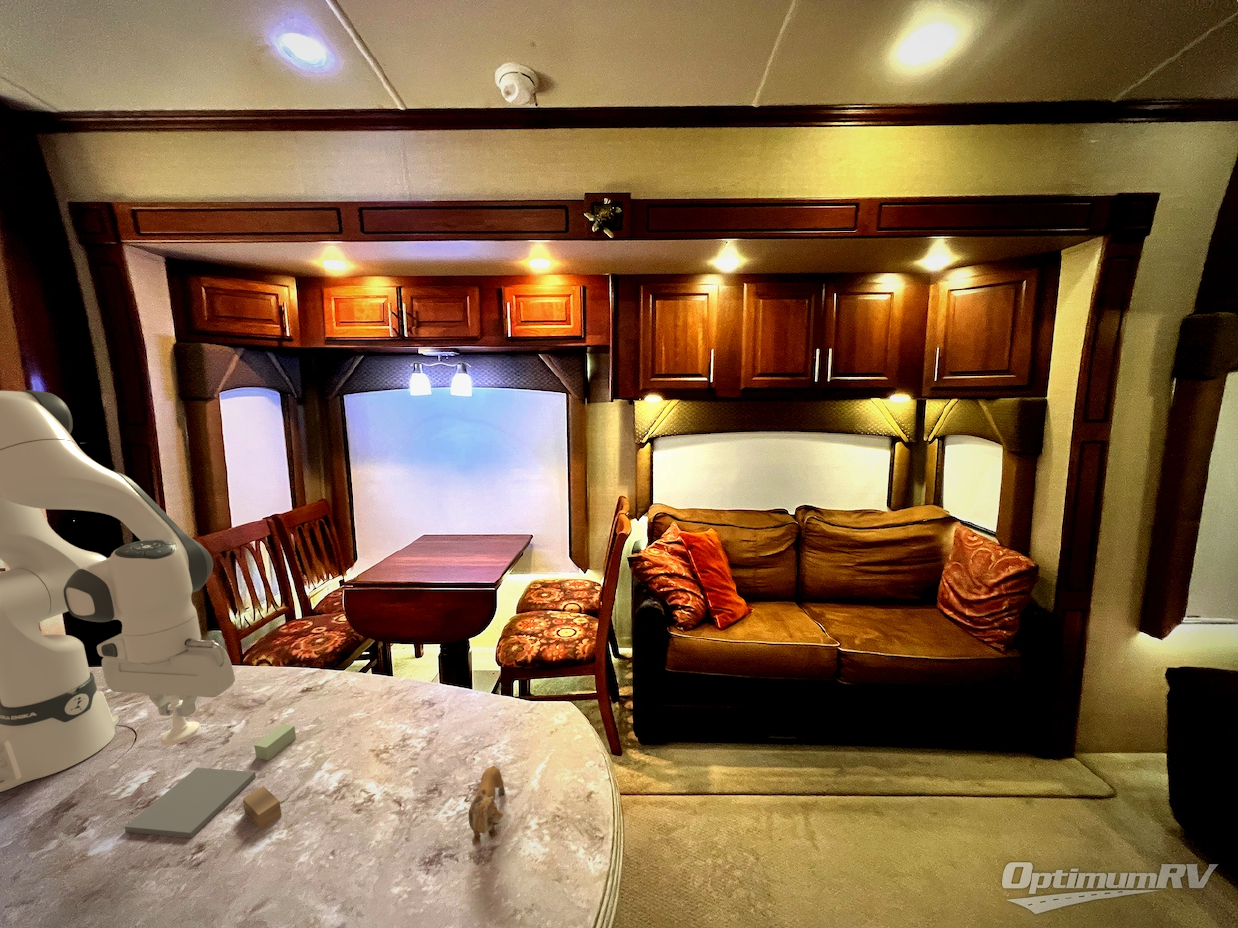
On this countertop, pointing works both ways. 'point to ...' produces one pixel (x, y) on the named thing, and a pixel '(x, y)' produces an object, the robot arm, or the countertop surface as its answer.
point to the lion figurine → (486, 805)
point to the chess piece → (179, 725)
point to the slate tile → (191, 803)
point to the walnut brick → (262, 807)
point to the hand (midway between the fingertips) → (178, 713)
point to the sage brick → (275, 741)
